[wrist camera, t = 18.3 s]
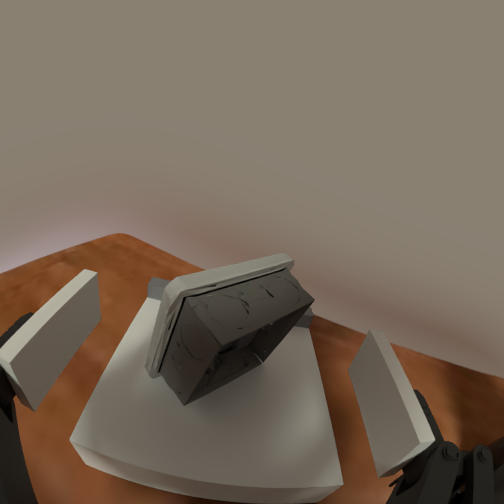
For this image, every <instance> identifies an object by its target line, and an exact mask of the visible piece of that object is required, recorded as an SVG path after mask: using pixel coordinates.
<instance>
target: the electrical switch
mask: <svg viewBox="0 0 504 504" xmlns="http://www.w3.org/2000/svg"><path fill="white" fill-rule="evenodd" d="M293 266H294V260H293V259H292V258H290V257H289V256H288V255H287V254H285V253H280V254H276V255H272V256H267V257H263V258H259V259H254V260H250V261H246V262H242V263H237V264H232V265H228V266H224V267H219V268H215V269H210V270H206V271H202V272H197V273H193V274H188V275H184V276H179V277H176V278H175V279H174V280H172V281H171V282H170V283H169V284H168V285H167V286H166V287H165V289H164V292H163V296H162V299H161V303H160V307H159V310H158V314H157V318H156V322H155V326H154V330H153V334H152V338H151V342H150V346H149V350H148V355H147V359H146V363H145V369H146V371H147V373H148V374H149V376H150V377H151V378H153V379H155V378H157V377H160V376H163V378H164V380H165V381H166V383H167V385H168V386H169V387H170V388H171V389H172V390H173V391H174V392H175V394H176V395H177V397H178V398H179V400H180V401H181V403H182V404H183V405H184V406H185V405H187V404H189V403H191V402H193V401H195V400H197V399H199V398H201V397H203V396H205V395H207V394H209V393H211V392H213V391H214V390H216V389H218V388H220V387H222V386H224V385H226V384H227V383H229V382H231V381H233V380H235V379H236V378H238V377H240V376H242V375H243V374H245V373H247V372H249V371H250V370H252V369H254V368H255V367H257V366H259V365H261V364H262V362H264V361H265V360H266V359H267V358H268V357H269V355H270V354H271V353H272V352H273V351H274V350H275V348H276V347H277V346H278V345H279V344H280V343H281V341H282V340H283V339H284V338H285V337H286V335H287V334H288V333H289V332H290V331H291V329H292V328H293V327H294V326H295V324H296V323H297V322H298V321H299V319H300V318H301V317H302V316H303V314H304V313H305V312H306V311H307V309H308V308H309V307H310V305H311V304H312V303H313V302H314V298H312V297H311V296H310V295H309V294H308V293H307V292H306V291H305V290H304V289H303V288H302V287H301V286H300V284H299V283H298V281H297V280H296V279H295V278H294V277H293V276H292V275H291V273H290V272H289V271H290V270H291V269H292V267H293ZM274 321H275V322H274ZM272 322H274V323H273V324H270V323H272ZM264 351H266V352H264ZM243 353H244V354H245V355H244V354H243ZM254 353H255V354H256V355H255V354H254ZM221 355H222V359H223V360H224V361H223V360H222V359H221ZM258 358H259V359H260V360H261V361H262V362H261V361H260V360H259V359H258ZM213 359H215V361H216V363H217V365H218V367H219V368H218V370H215V371H214V370H211V369H210V368H209V367H208V366H209V365H210V363H211V362H212V360H213ZM226 365H227V366H228V367H229V368H228V367H226ZM205 371H206V372H207V373H208V375H207V374H206V373H205ZM206 387H207V388H206ZM205 388H206V389H205Z"/></svg>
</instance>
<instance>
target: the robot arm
mask: <svg viewBox="0 0 504 504" xmlns="http://www.w3.org/2000/svg"><path fill="white" fill-rule="evenodd" d="M100 320H101V313H100V302H99V290H98V273H97V272H93V271H90V270H86V269H84V270H83V271H82V272H81V273H79V274H78V275H77V276H76V277H75V278H74V279H72V280H71V281H70V282H69V283H68V284H67V285H66V286H64V287H63V288H62V289H61V290H60V291H59V292H58V293H57V294H55V295H54V296H53V297H52V298H51V299H50V300H49V301H48V302H47V303H46V304H45V305H43V306H42V307H41V308H40V309H39V310H38V311H37V312H36V313H35V314H33V313H31V312H30V313H28V314H26V315H24V316H22V317H20V318H19V319H18V320H17V321H16V322H15V323H14V325H12V326H11V327H10V328H9V329H8V331H6V332H5V333H4V334H3V335H2V336H1V337H0V504H38V502H37V500H36V497H35V494H34V491H33V488H32V485H31V481H30V478H29V475H28V471H27V467H26V463H25V459H24V455H23V451H22V446H21V441H20V436H19V430H18V424H17V418H16V410H15V404H14V400H13V398H14V397H15V395H17V397H18V399H19V400H20V402H21V404H23V405H24V406H26V407H28V408H29V409H31V410H32V411H34V412H35V411H36V409H37V408H38V406H39V405H40V403H41V402H42V400H43V399H44V397H45V396H46V394H47V393H48V391H49V390H50V388H51V387H52V385H53V384H54V382H55V381H56V379H57V378H58V377H59V375H60V374H61V372H62V371H63V369H64V368H65V367H66V365H67V364H68V362H69V361H70V360H71V358H72V357H73V356H74V354H75V353H76V351H77V350H78V349H79V347H80V346H81V345H82V343H83V342H84V341H85V339H86V338H87V337H88V336H89V334H90V333H91V332H92V330H93V329H94V328H95V326H96V325H97V324H98V323H99V321H100ZM348 371H349V374H350V378H351V381H352V384H353V387H354V391H355V394H356V397H357V401H358V404H359V408H360V411H361V414H362V418H363V422H364V425H365V429H366V432H367V436H368V440H369V444H370V447H371V451H372V455H373V459H374V463H375V467H376V471H377V476H378V478H381V477H387V476H392V475H394V474H396V473H397V472H398V471H400V470H401V469H402V470H403V473H404V474H403V475H401V476H400V477H399V478H397V479H396V480H394V481H393V482H392V483H391V484H390V485H389V487H391V486H393V485H394V484H396V483H397V484H396V486H395V487H394V488H393V489H394V490H393V491H392V493H391V495H390V497H389V499H388V501H387V502H386V504H504V436H503V437H501V438H499V439H498V440H496V441H494V442H493V443H491V444H490V445H489V446H488V447H487V446H485V445H483V444H479V445H477V446H476V447H474V448H473V449H472V450H471V451H459V449H458V447H457V446H456V445H455V444H453V443H452V442H449V441H444V439H443V437H442V435H441V432H440V430H439V428H438V426H437V424H436V421H435V419H434V417H433V415H432V413H431V411H430V408H428V407H429V406H428V404H427V402H426V400H425V398H424V397H423V396H422V395H421V393H420V392H419V391H418V390H413V389H412V387H411V385H410V383H409V380H408V378H407V376H406V374H405V372H404V370H403V368H402V366H401V365H400V363H399V361H398V359H397V357H396V355H395V353H394V351H393V349H392V347H391V345H390V343H389V342H388V340H387V338H386V336H385V334H384V332H383V331H380V330H372V329H370V330H369V332H368V334H367V336H366V338H365V340H364V342H363V343H362V345H361V347H360V349H359V351H358V353H357V355H356V356H355V358H354V360H353V362H352V363H351V365H350V367H349V369H348Z"/></svg>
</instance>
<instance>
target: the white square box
mask: <svg viewBox="0 0 504 504" xmlns="http://www.w3.org/2000/svg"><path fill="white" fill-rule="evenodd" d="M170 282H171V281H168V280H164V279H159V278H155V277H152V279H151V280H150V282H149V283H148V296H147V299H146V301H145V302H144V304H143V305H142V307H141V309H140V310H139V312H138V314H137V315H136V317H135V319H134V320H133V322H132V324H131V325H130V327H129V329H128V330H127V332H126V334H125V335H124V337H123V339H122V340H121V342H120V344H119V346H118V347H117V349H116V351H115V353H114V354H113V356H112V358H111V360H110V362H109V363H108V365H107V367H106V369H105V371H104V372H103V374H102V376H101V378H100V380H99V382H98V384H97V385H96V387H95V389H94V391H93V393H92V395H91V397H90V399H89V401H88V403H87V405H86V407H85V409H84V411H83V413H82V415H81V417H80V419H79V421H78V423H77V425H76V427H75V429H74V431H73V433H72V435H71V437H70V439H69V440H70V442H71V443H72V445H73V446H74V448H75V449H76V451H77V452H78V454H79V455H80V457H81V458H82V460H83V461H84V462H85V464H86V465H89V466H91V467H93V468H96V469H98V470H101V471H103V472H106V473H109V474H111V475H114V476H117V477H120V478H123V479H126V480H129V481H132V482H135V483H138V484H142V485H145V486H149V487H153V488H156V489H160V490H164V491H169V492H173V493H178V494H183V495H188V496H193V497H199V498H205V499H212V500H220V501H229V502H241V503H257V504H299V503H315V502H319V501H321V500H322V499H324V498H325V497H327V496H328V495H330V494H331V493H333V492H334V491H335V490H337V489H338V488H340V487H341V486H342V485H344V484H343V479H342V474H341V468H340V463H339V458H338V453H337V448H336V443H335V439H334V434H333V429H332V424H331V420H330V415H329V411H328V406H327V402H326V397H325V393H324V389H323V384H322V380H321V376H320V372H319V367H318V363H317V359H316V355H315V351H314V347H313V343H312V339H311V335H310V331H309V327H310V324H311V322H312V319H313V317H314V316H313V313H312V309H311V308H308V309H307V311H306V312H305V313H304V314H303V316H302V317H301V318H300V319H299V321H298V322H297V323H296V324H295V326H294V327H293V328H292V329H291V331H290V332H289V333H288V334H287V335H286V337H285V338H284V339H283V340H282V341H281V343H280V344H279V345H278V346H277V347H276V348H275V350H274V351H273V352H272V353H271V354H270V355H269V357H268V358H267V359H266V360H265V361H264V362H262V361H261V360H260V359H259V358H258V359H259V360H260V361H261V362H262V364H261V365H259V366H257V367H255V368H254V369H252V370H250V371H249V372H247V373H245V374H243V375H242V376H240V377H238V378H236V379H235V380H233V381H231V382H229V383H227V384H226V385H224V386H222V387H220V388H218V389H216V390H214V391H213V392H211V393H209V394H207V395H205V396H203V397H201V398H199V399H197V400H195V401H193V402H191V403H189V404H187V405H185V406H184V405H183V404H182V403H181V401H180V400H179V398H178V397H177V395H176V394H175V392H174V391H173V390H172V389H171V388H170V387H169V386H168V385H167V383H166V381H165V380H164V378H163V376H160V377H157V378H155V379H153V378H151V377H150V376H149V374H148V373H147V371H146V369H145V363H146V359H147V355H148V350H149V346H150V342H151V338H152V334H153V330H154V326H155V322H156V318H157V314H158V310H159V307H160V303H161V299H162V296H163V292H164V289H165V287H166V286H167V285H168V284H169V283H170ZM274 322H275V321H274ZM274 322H272V323H270V324H273V323H274ZM264 352H266V351H264ZM243 354H244V353H243ZM254 354H255V353H254ZM244 355H245V354H244ZM255 355H256V354H255ZM221 359H222V355H221ZM222 360H223V359H222ZM223 361H224V360H223ZM208 367H209V368H210V369H211V370H214V371H215V370H218V368H219V367H218V365H217V363H216V361H215V359H213V360H212V362H211V363H210V365H209V366H208ZM226 367H228V366H227V365H226ZM228 368H229V367H228ZM205 373H206V374H207V375H208V373H207V372H206V371H205ZM206 388H207V387H206ZM206 388H205V389H206Z"/></svg>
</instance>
